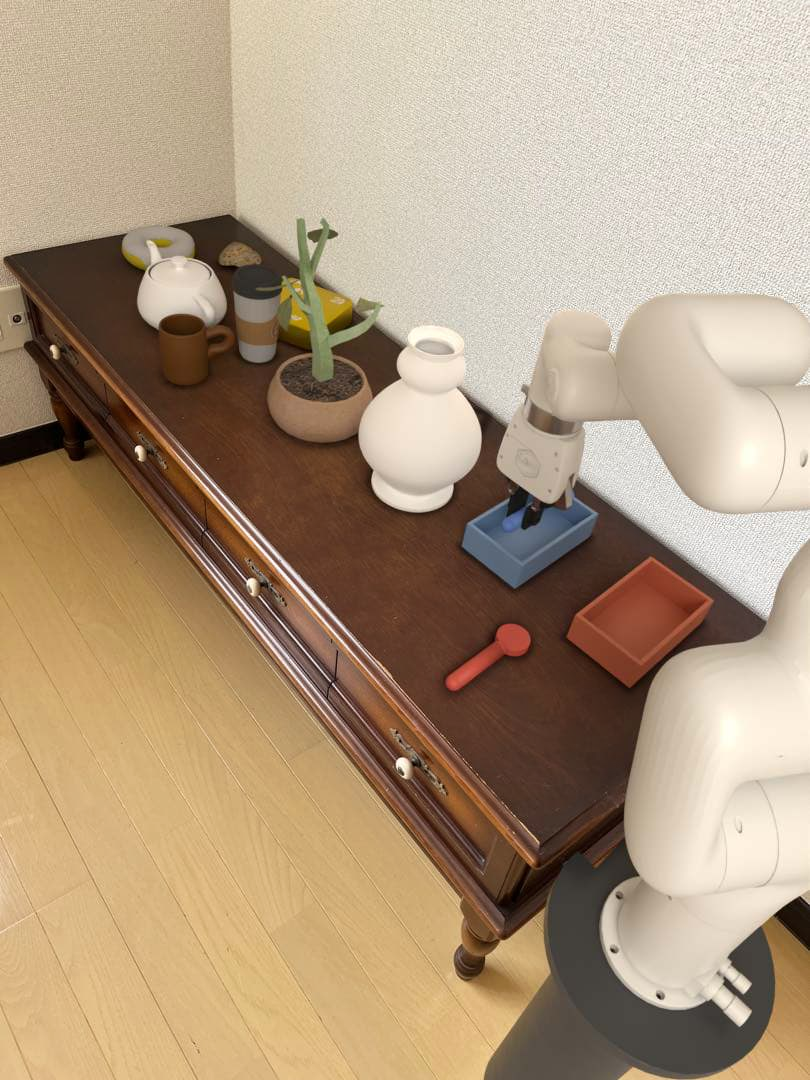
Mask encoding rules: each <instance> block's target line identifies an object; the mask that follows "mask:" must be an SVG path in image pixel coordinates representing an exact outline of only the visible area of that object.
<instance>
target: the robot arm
mask: <svg viewBox="0 0 810 1080" xmlns="http://www.w3.org/2000/svg"><path fill="white" fill-rule="evenodd" d="M611 343H612V330H611V327H610V326H609V324H608V323H607V321H605V319H603V318H602V317H600V316H599V315H596V314H595V313H592V312H591V311H587V310H583V309H575V308H573V309H572V308H570V309H565V310H564V309H563V310H560V311H558V312H556V313H554V314H553V315H552V316H551V317H550V318H549V320H548V322H547V323H546V325H545V329H544V333H543V335H542V340H541V343H540V347H539V350H538V355H537V357H536V362H535V365H534V369H533V373H532V376H531V380H530V383H529V382H528V381H526V382H523V384H522V385H521V388H520V392H522V393H523V394H524V396H525V399H524V402H523V403H521V404H520V405H518V407H517V408H516V410H515V412H514V413H513V416H512V417H511V420H510V421H509V424H508V425H507V428H506V430H505V433H504V435H503V438H502V441H501V444H500V446H499V449H498V453H497V457H496V466H497V468H498V470H499V471H500V472H501V473H502V474H503V475H504V476H505V478H506V480H507V483H508V489H507V490H508V493H509V494H510V495H509V498H510V499H509V503H508V507H509V508H508V511H507V515H506V517H509V516H510V515H512V514H513V513H515V512H517V511H518V510H520V509H521V508H523V507H525V506H526V503H527V499H528V496H529V493H531V494H532V495H533V496H534V497H533V500H532V503H531V505H529V506H527V508H526V510H525V513H524V517H523V520H522V525H521V528H522V529H523V530H526V529H527V528H529V527H531V526H532V525H533V526H535V525H537V524H538V523H539V522H540V520H541V517H542V514H543V511H544V509H545V508H550V507H554V508H556V509H559V510H563V511H565V510H567V509H568V508H570V507H571V506H572V496H571V491H572V490H573V489H574V487H575V486H576V482H577V479H578V476H579V473H580V470H581V469H580V468H581V465H582V460H583V456H584V449H585V442H586V429H585V427H583V426H584V423H586V422H587V423H593V422H612V421H613V422H614V421H638V422H639V424H640V425H641V427H642V428H643V430H644V432H645V433H646V435H647V437H648V439H649V440H650V442H651V443H652V445H653V447H654V448H655V449H656V452H657V453H658V455H659V456H660V459H661V460H662V462H663V464H664V465H665V466H666V468H667V470H668V471H669V473H670V475H671V477H672V478H673V480H674V481H675V483H676V484H677V486H678V487H679V489H680V490H681V491H682V493H683V494H684V495H685V496H686V497H687V498H689V500H691V501H692V502H693V503H694V504H696V505H697V506H698V507H700V508H703V509H705V510H708V511H711V512H714V513H718V514H723V515H748V514H762V513H778V512H780V513H781V512H795V511H798V512H800V511H810V384H800V385H798V384H799V383H800V381H801V380H803V378H804V377H805V376H806V374H807V372H808V371H809V369H810V321H809V320H808V318H807V317H806V316H805V314H804V313H803V312H802V311H801V310H800V309H798V307H796V306H795V305H793V304H792V303H791V302H788V301H786V300H784V299H782V298H778V297H775V296H771V295H765V294H759V293H758V294H757V293H713V292H711V293H709V292H707V293H703V292H701V293H700V292H693V293H692V292H671V293H670V292H669V293H664V294H659V295H656V296H652V297H651V298H648V299H646V300H645V301H643V303H641V304H640V305H639V306H637V307H636V308H634V310H633V311H631V313H630V314H629V315H628V316H627V319H626V320H625V322H624V323H623V325H622V327H621V330H620V332H619V335H618V338H617V343H616V347H615V348H616V349H615V350H609V349H610V347H611ZM636 740H637V741H636V745H635V750H634V755H633V759H632V764H631V768H630V773H629V778H628V783H627V787H626V793H625V798H624V807H623V808H624V809H623V830H624V837H625V839H626V845H627V849H628V852H629V855H630V858H631V861H632V863H633V865H634V867H635V869H636V870H637V872H638V873H639V875H640V876H638V877H633V878H630V879H628V880H626V881H624V882H622V883H621V884H619V885H618V886H617V887H616V888H615V889H614V890H613V891H612V892H611V893H610V895H609V896H608V898H607V899H606V901H605V903H604V905H603V908H602V911H601V914H600V922H599V932H600V940H601V944H602V948H603V952H604V954H605V956H606V959H607V961H608V963H609V965H610V967H611V968H612V970H613V971H614V973H615V975H616V976H617V977H618V978H619V979H620V981H621V982H622V983H623V984H624V985H625V986H626V987H627V988H628V989H629V990H630V991H631V992H633V993H634V994H635V995H636V996H638V997H639V998H641V999H643V1000H644V1001H646V1002H647V1003H650V1004H652V1005H655V1006H657V1007H660V1008H664V1009H669V1010H686V1009H690V1008H694V1007H696V1006H698V1005H700V1004H702V1003H704V1002H705V1001H706V1000H707V1001H709V1000H710V999H712V1000H713V1001H714V1002H715V1003H716V1004H717V1005H718V1006H719V1007H720V1008H721V1009H722V1010H723V1012H724V1013H725V1014H726V1015H727V1016H728V1017H729V1018H730V1019H731V1020H732V1021H733V1022H734V1023H735V1024H736V1025H738V1026H739V1027H740V1026H741V1025H742V1024H743V1023H744V1022H745V1021H746V1020H747V1019H748V1017H749V1016H750V1014H751V1012H752V1010H751V1009H750V1008H749V1007H747V1006H746V1005H745V1004H744V1003H743V1002H742V1001H741V1000H740V999H739V998H738V997H737V996H736V995H735V996H734V995H733V994H732V993H731V992H730V991H729V990H728V989H727V988H726V987H725V986H724V985H723V983H724V980H723V978H724V976H725V977H726V978H727V979H728V980H729V981H730V982H731V983H732V985H733V986H734V987H735V988H736V989H737V990H738V991H739V992H741V993H742V994H744V993H745V992H746V991H747V990H748V989H749V987H750V986H751V984H752V983H751V982H750V981H749V980H748V979H747V978H746V977H745V976H744V975H742V974H741V973H739V972H738V971H737V970H736V969H735V968H734V967H733V966H732V965H731V962H732V961H730V960H729V959H728V958H727V957H728V956H729V954H730V953H731V952H732V951H733V950H734V949H735V948H736V947H737V946H739V945H740V944H741V943H742V942H743V941H744V940H745V939H746V938H747V937H748V936H749V935H751V934H752V933H753V932H754V931H755V930H756V929H757V928H758V927H760V926H762V925H764V924H765V923H766V922H767V921H769V919H770V918H772V917H773V916H774V915H775V914H776V913H777V912H778V911H780V910H781V909H782V908H783V907H785V906H786V905H788V904H790V902H792V901H794V900H796V899H797V898H799V897H801V896H802V895H804V894H805V893H807V892H809V891H810V538H808V540H806V541H805V542H804V543H803V545H802V546H801V547H800V548H799V549H798V551H797V552H796V553H795V555H794V556H793V557H792V559H791V560H790V562H789V563H788V565H787V566H786V568H785V569H784V571H783V573H782V575H781V577H780V578H779V581H778V584H777V587H776V590H775V594H774V597H773V602H772V606H771V609H770V613H769V616H768V618H767V621H766V623H765V625H764V627H763V629H762V631H760V633H758V634H757V635H756V636H754V637H752V638H751V639H747V640H745V641H740V642H739V641H738V642H731V643H720V644H710V645H703V646H698V647H694V648H689V649H687V650H684V651H683V650H682V651H681V652H679V653H677V654H675V655H674V656H672V657H671V658H670V659H668V660H667V661H666V662H665V663H664V664H663V665H662V666H661V667H660V669H659V670H658V672H657V673H656V674H655V676H654V678H653V679H652V681H651V684H650V686H649V689H648V692H647V696H646V699H645V703H644V707H643V712H642V717H641V721H640V727H639V731H638V735H637V739H636ZM616 897H618V898H619V899H617V898H616ZM611 950H613V952H614V953H612V952H611ZM656 995H658V996H659V998H660V999H658V998H657V996H656Z"/></svg>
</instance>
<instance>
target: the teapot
mask: <svg viewBox="0 0 810 1080" xmlns="http://www.w3.org/2000/svg"><path fill="white" fill-rule="evenodd" d="M146 243H147V246H148V248H149V251H150V257H151V265H150V266H149V267H148V268H147V270H146V271H144V274H143V276H142V279H141V282H140V284H139V288H138V291H137V292H138V293H137V297H136V298H137V299H136V305H137V309H138V312H139V314H140V316H141V317H142V319H143V320H144V321H145V322H146V323H147V324H148V325H149V326H151V327H153V328H154V329H156V330H157V331H159V323H160V321H161V320H162V319H163V318H165V317H167V316H169V315H173V314H191V315H194V316H197V317H199V318H201V319H202V320H203V321H204V322H205V325H206V329H208V328H211V327H214V326H216V325H219V324H220V323H221V322H222V320H223V319H224V318H225V315H226V313H227V308H228V306H227V305H228V303H227V298H226V294H225V291H224V288H223V287H222V285H221V282H220V280H219V278H218V276H217V275H216V273H215V271H214V269H212V267H211V266H210V265H209V264H208V263H205V262H203V261H201V260H198V259H195V258H193V259H191V258H186V257H184V256H174V257H172V258H166V259H162V257H161V255H160V253H159V250H158V248H157V246H156V245H155V243H154V242H152V241H150V240H148V241H146Z"/></svg>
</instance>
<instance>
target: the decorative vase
mask: <svg viewBox="0 0 810 1080" xmlns="http://www.w3.org/2000/svg"><path fill="white" fill-rule="evenodd" d="M406 345H407V346H406V347H405V348H404V349H402V350H401V352H400V353H399V354H398V357H397V359H396V370H397V372H398V375H399V376H400V379H398V380H396V381H395V382H393V383H391V384H390V385H388V386H387V387H385V388H384V389H382V391H380V392H379V393H378V394H377V395H376V396H375V397H373V400H372V401H371V403H370V404H369V405H368V407H367V408H366V410H365V412H364V414H363V416H362V419H361V422H360V426H359V432H358V445H359V448H360V452H361V454H362V456H363V457H364V459H365V461H366V462H367V464H368V465H369V467H370V468H371V469H372V470H373V471H372V474H371V479H370V480H371V481H370V482H371V488H372V490H373V492H374V494H375V495H376V497H378V499H379V500H381V501H382V502H383V503H385V504H387V506H390V507H391V508H394V509H397V510H400V511H403V512H408V513H427V512H431V511H435V510H437V509H439V508H443V506H445V505H447V504H448V502H449V501H450V500H451V498H452V496H453V492H454V484H455V483H457V482H459V481H460V480H462V479H463V478H464V477H466V475H468V473H469V472H471V471H472V469H473V468H474V466H475V465H476V463H477V462H478V459H479V457H480V455H481V454H480V453H481V450H482V430H481V429H482V428H481V424H480V422H479V419H478V416H477V414H476V412H475V410H474V408H473V406H472V405H471V403H470V402H469V400H468V399H467V397H465V395H464V394H463V393H462V392H461V391H460V390H459V388H457V387H460V385H461V384H462V383H463V382H464V380H465V379H466V375H467V372H468V368H467V364H466V360H465V358H464V357H463V356H462V354H463V353H464V349H465V340H464V338H463V337H462V336H461V335H460V334H459V333H457V332H456V331H455V330H453V329H450V328H448V327H444V326H441V325H435V324H434V325H432V324H431V325H430V324H429V325H428V324H427V325H420V326H416V327H415V328H413V329H411V330H410V331H409V332H408V334H407V340H406Z"/></svg>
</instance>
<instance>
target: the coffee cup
mask: <svg viewBox="0 0 810 1080" xmlns="http://www.w3.org/2000/svg"><path fill="white" fill-rule="evenodd" d="M282 281H283V280H282V278H281V277H280V273H279V272H278V270H276V268H273V267H271V266H269V265H265V264H261V263H260V264H250V265H244V266H241V267H237V269H235V271H234V275H233V277H232V279H231V290H232V291H233V300H234V316H235V326H236V336H237V341H238V350H239V351H238V352H239V354H240V355H241V357H242V358H243V359H244V360H246V361H247V362H251V363H256V364H257V363H258V364H259V363H260V364H261V363H266V362H269V361H271V360H272V359H273V358H274V357H275V355H276V353H277V342H278V340H279V339H278V327H279V322H278V318H277V310H278V308H279V306H280V299H281V292H282V288H279V289H275V290H272V291H259V290H256V288H257V287H260V288H269V287H277V286H280V285H282Z"/></svg>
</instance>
